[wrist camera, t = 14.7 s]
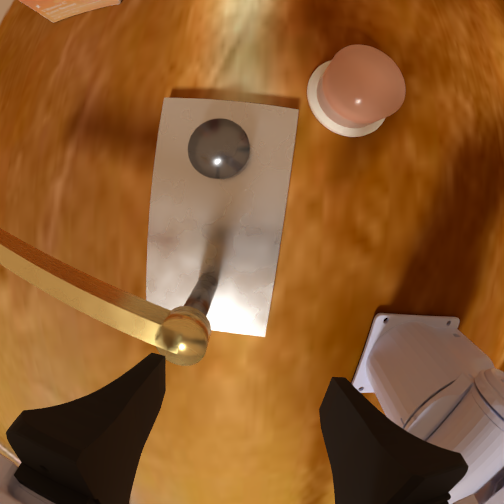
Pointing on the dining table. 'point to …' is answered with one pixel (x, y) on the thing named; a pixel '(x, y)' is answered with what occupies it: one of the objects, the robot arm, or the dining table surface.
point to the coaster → (322, 116)
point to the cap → (360, 87)
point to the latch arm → (111, 303)
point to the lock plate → (219, 209)
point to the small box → (66, 7)
